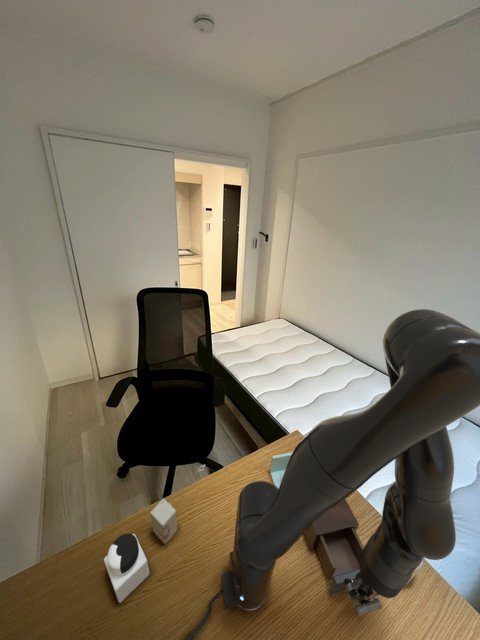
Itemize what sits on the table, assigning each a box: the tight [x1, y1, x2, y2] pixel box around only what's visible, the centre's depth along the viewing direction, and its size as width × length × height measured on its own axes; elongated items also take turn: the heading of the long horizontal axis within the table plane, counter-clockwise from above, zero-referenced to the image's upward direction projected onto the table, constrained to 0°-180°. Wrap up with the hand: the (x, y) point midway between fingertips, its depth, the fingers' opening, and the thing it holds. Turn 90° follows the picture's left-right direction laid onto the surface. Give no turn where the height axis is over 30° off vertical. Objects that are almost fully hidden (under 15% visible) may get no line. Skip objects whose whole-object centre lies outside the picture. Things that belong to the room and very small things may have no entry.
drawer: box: [315, 527, 383, 617], centre depth 61 cm, size 18×11×6 cm, turn 12°
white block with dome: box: [103, 533, 150, 604], centre depth 56 cm, size 7×7×12 cm
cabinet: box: [303, 498, 360, 552], centre depth 71 cm, size 15×13×8 cm
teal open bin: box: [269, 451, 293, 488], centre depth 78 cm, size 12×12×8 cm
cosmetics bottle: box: [150, 497, 178, 546], centre depth 64 cm, size 5×4×10 cm
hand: (360, 597), depth 55 cm, fingers closed
